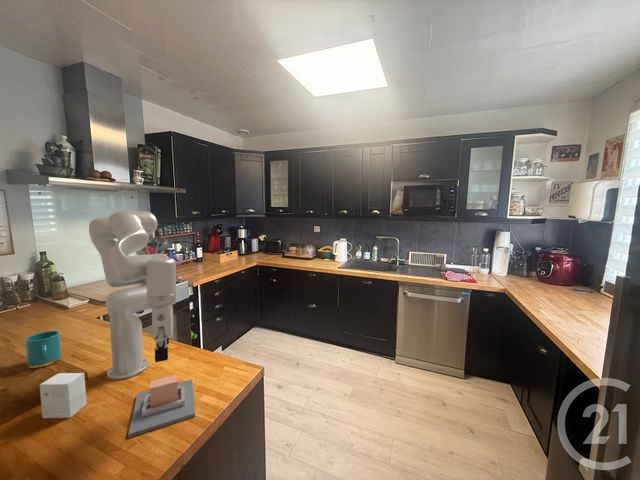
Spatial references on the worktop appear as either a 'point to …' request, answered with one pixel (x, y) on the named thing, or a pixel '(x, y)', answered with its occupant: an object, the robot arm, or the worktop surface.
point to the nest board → (162, 410)
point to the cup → (43, 348)
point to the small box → (63, 395)
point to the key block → (163, 391)
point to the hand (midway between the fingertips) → (162, 352)
